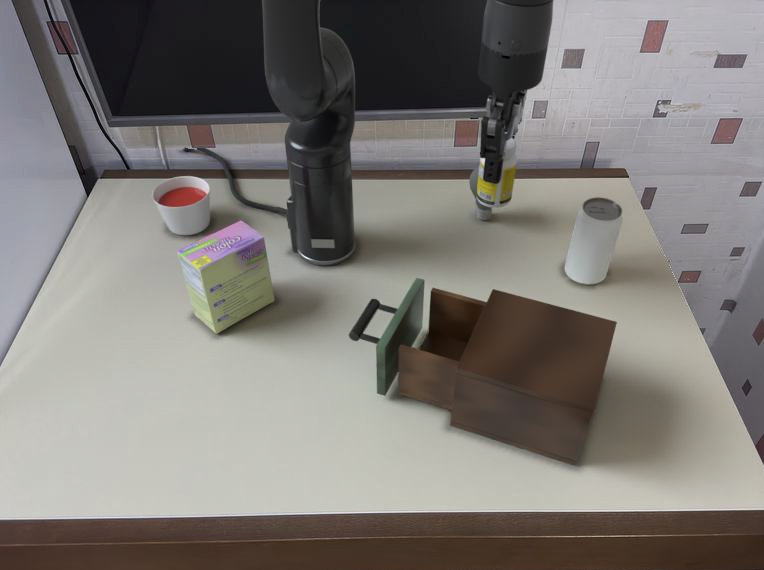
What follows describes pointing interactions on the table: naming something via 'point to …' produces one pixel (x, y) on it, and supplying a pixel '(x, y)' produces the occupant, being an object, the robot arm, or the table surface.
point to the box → (227, 275)
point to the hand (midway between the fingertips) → (497, 170)
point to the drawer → (438, 351)
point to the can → (593, 240)
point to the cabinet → (532, 375)
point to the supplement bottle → (503, 190)
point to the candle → (184, 204)
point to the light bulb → (482, 210)
